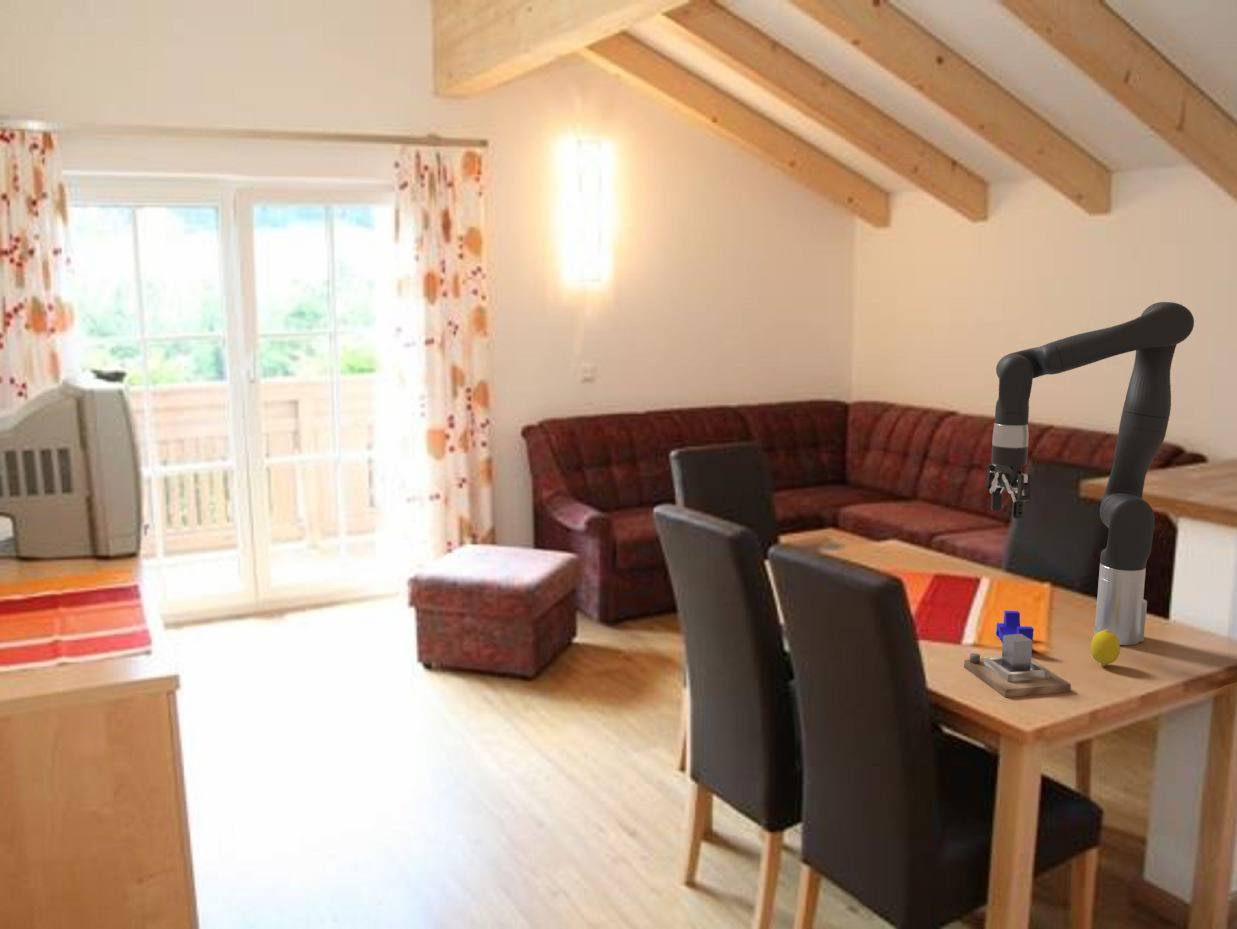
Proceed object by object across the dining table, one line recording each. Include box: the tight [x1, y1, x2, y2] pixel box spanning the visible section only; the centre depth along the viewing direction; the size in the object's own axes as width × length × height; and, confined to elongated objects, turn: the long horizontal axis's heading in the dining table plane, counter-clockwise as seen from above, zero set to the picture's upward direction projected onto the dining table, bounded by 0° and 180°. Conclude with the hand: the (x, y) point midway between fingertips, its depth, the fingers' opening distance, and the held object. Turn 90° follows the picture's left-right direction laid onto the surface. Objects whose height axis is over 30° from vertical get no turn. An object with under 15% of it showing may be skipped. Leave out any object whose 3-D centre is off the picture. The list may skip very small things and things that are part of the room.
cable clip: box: [995, 610, 1034, 656], centre depth 227 cm, size 12×4×6 cm, turn 174°
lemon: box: [1090, 629, 1121, 667], centre depth 214 cm, size 6×6×8 cm
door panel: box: [963, 652, 1072, 698], centre depth 208 cm, size 14×16×3 cm
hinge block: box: [1001, 634, 1033, 672], centre depth 207 cm, size 4×4×7 cm
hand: (1006, 513), depth 232 cm, fingers open, 8 cm apart
